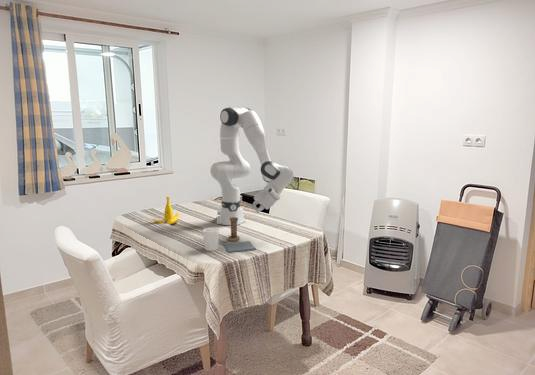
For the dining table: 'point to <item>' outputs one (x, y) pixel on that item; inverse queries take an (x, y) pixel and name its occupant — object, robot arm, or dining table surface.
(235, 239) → the brown post
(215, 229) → the white cup
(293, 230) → the dining table surface
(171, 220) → the banana peel
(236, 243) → the gray book
